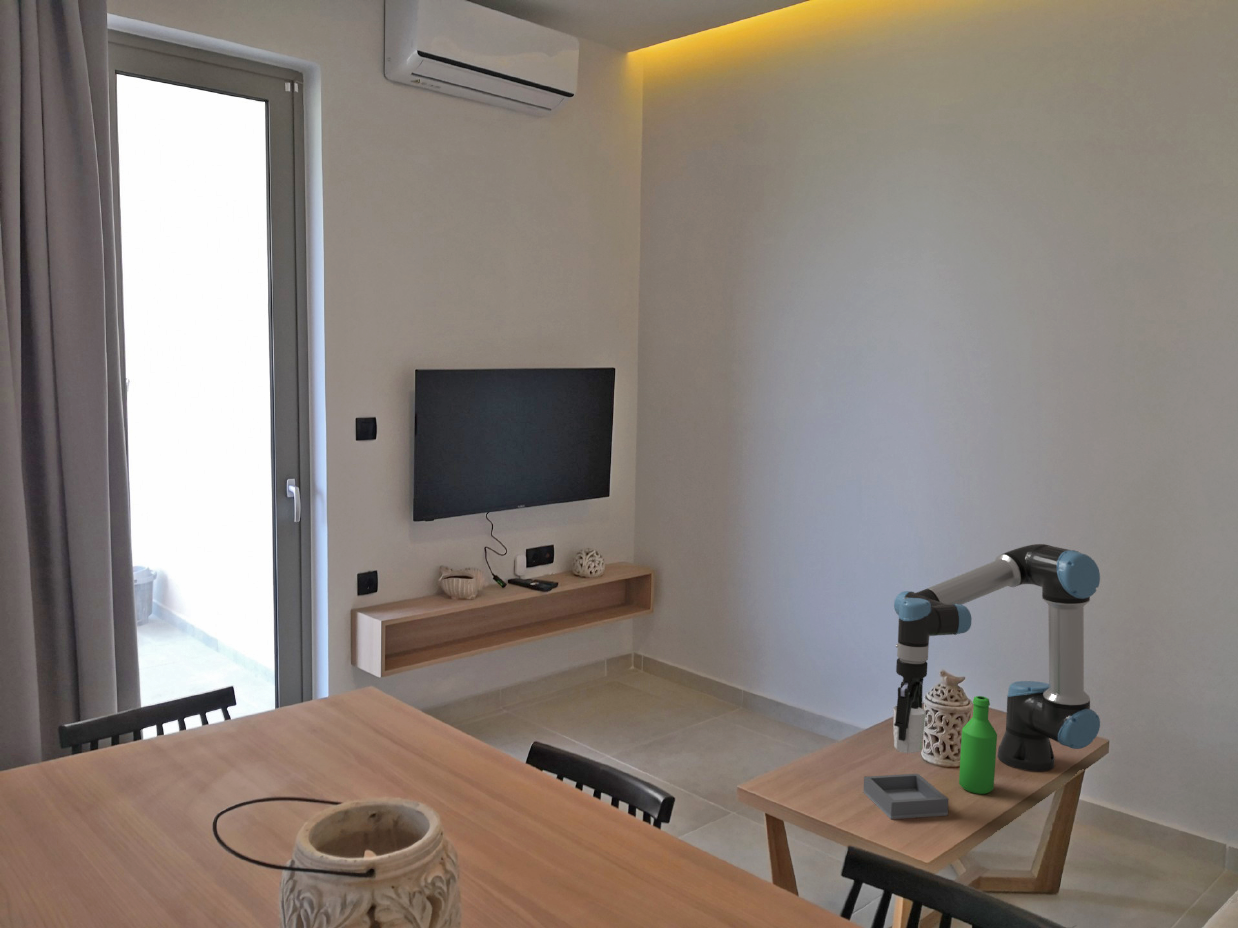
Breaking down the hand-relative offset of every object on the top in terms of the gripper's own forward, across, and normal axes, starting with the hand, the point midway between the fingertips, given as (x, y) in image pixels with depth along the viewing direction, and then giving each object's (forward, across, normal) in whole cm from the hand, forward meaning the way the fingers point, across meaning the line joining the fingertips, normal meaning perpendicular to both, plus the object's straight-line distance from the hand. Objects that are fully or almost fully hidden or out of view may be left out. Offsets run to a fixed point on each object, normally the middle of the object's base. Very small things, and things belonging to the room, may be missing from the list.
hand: (907, 746), depth 242 cm
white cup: (+1, 0, 0) cm, 1 cm away
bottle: (+15, -21, +13) cm, 29 cm away
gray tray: (+15, 0, 0) cm, 15 cm away
